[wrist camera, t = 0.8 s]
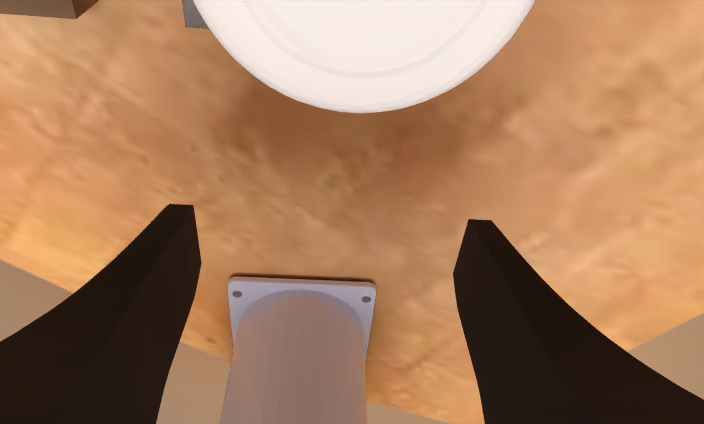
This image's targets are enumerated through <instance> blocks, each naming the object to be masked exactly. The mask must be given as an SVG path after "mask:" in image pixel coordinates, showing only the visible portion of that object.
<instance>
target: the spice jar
mask: <svg viewBox="0 0 704 424" xmlns="http://www.w3.org/2000/svg"><path fill="white" fill-rule="evenodd" d="M193 1H194V4H195V5H196V7H197V9H198V11H199V13H200V14H201V16H202V18H203V20H204V21H205V23H206V24H207V26H208V27H209V29H210V30H211V31H212V33H213V34H214V36H215V37H216V38H217V39H218V41H219V42H220V43H221V44H222V46H223V47H224V48H225V49H226V51H227V52H228V53H229V54H230V55H231V56H232V57H233V58H234V59H235V60H236V61H237V62H239V63H240V64H241V65H242V66H243V67H244V68H245V69H246V70H248V71H249V72H250V73H251V74H252V75H254V76H255V77H256V78H257V79H259V80H260V81H262V82H263V83H265V84H266V85H267V86H269V87H270V88H273V89H275V90H277V91H278V92H280V93H282V94H283V95H286V96H288V97H290V98H293V99H294V100H297V101H300V102H303V103H306V104H309V105H312V106H315V107H318V108H323V109H328V110H333V111H338V112H348V113H375V112H384V111H392V110H397V109H402V108H406V107H409V106H412V105H416V104H419V103H421V102H424V101H427V100H429V99H432V98H434V97H436V96H438V95H440V94H443V93H445V92H447V91H448V90H450V89H452V88H454V87H456V86H457V85H459V84H461V83H462V82H463V81H465V80H466V79H468V78H469V77H470V76H472V75H473V74H475V73H476V72H477V71H478V70H479V69H481V68H482V67H483V66H484V65H485V64H486V63H487V62H489V61H490V60H491V59H492V58H493V57H494V56H495V55H496V54H497V53H498V52H499V51H500V50H501V49H502V48H503V46H504V45H505V44H506V43H507V42H508V41H509V40H510V39H511V38H512V36H513V35H514V33H515V32H516V30H517V28H518V27H519V26H520V24H521V23H522V21H523V20H524V18H525V17H526V15H527V14H528V12H529V11H530V9H531V8H532V6H533V4H534V2H535V0H193Z"/></svg>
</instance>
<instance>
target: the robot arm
mask: <svg viewBox="0 0 704 424" xmlns="http://www.w3.org/2000/svg"><path fill="white" fill-rule="evenodd" d="M200 267H201V256H200V249H199V242H198V235H197V228H196V220H195V213H194V206H193V205H180V204H169V205H168V206H166V207H165V208H164V209H163V210H162V211H161V212H160V213H159V214H158V216H157V217H156V218H155V219H154V220H153V221H152V222H151V223H150V224H149V225H148V226H147V227H146V228H145V229H144V230H143V231H142V232H141V233H140V234H139V235H138V236H137V237H136V238H135V239H134V240H133V241H132V242H131V243H130V244H129V245H128V246H127V247H126V248H125V249H124V250H123V251H122V252H121V253H120V254H119V255H118V256H117V257H116V258H115V259H114V260H113V261H111V262H110V263H109V264H108V265H107V266H106V267H105V268H103V269H102V270H101V271H100V272H99V273H98V274H97V275H95V276H94V277H93V278H92V279H91V280H90V281H89V282H87V283H86V284H85V285H84V286H82V287H81V288H80V289H79V290H77V291H76V292H75V293H74V294H72V295H71V296H70V297H68V298H67V299H66V300H64V301H63V302H62V303H60V304H59V305H57V306H56V307H55V308H53V309H52V310H50V311H49V312H48V313H46V314H44V315H43V316H41V317H39V318H38V319H36V320H35V321H33V322H32V323H30V324H29V325H27V326H25V327H24V328H22V329H21V330H19V331H18V332H16V333H14V334H13V335H11V336H9V337H8V338H6V339H4V340H2V341H1V342H0V424H156V421H157V417H158V412H159V408H160V403H161V399H162V395H163V391H164V387H165V383H166V380H167V377H168V373H169V370H170V367H171V364H172V361H173V358H174V355H175V353H176V350H177V347H178V344H179V341H180V338H181V335H182V332H183V330H184V327H185V324H186V321H187V318H188V315H189V312H190V309H191V306H192V303H193V300H194V297H195V292H196V288H197V283H198V278H199V273H200ZM453 278H454V286H455V294H456V301H457V308H458V312H459V316H460V320H461V323H462V327H463V331H464V335H465V338H466V342H467V346H468V349H469V353H470V357H471V361H472V364H473V368H474V372H475V375H476V379H477V383H478V388H479V392H480V397H481V403H482V409H483V415H484V421H485V424H704V400H703V399H701V398H700V397H698V396H696V395H694V394H692V393H690V392H688V391H687V390H685V389H683V388H681V387H680V386H678V385H676V384H675V383H673V382H672V381H670V380H668V379H667V378H665V377H664V376H662V375H661V374H659V373H657V372H656V371H654V370H653V369H651V368H649V367H648V366H646V365H645V364H644V363H642V362H641V361H639V360H638V359H636V358H635V357H633V356H632V355H630V354H629V353H628V352H626V351H625V350H624V349H622V348H621V347H619V346H618V345H617V344H615V343H614V342H613V341H611V340H610V339H609V338H607V337H606V336H605V335H604V334H602V333H601V332H600V331H598V330H597V329H596V328H595V327H594V326H592V325H591V324H590V323H589V322H588V321H587V320H585V319H584V318H583V317H582V316H581V315H579V314H578V313H577V312H576V311H575V310H574V309H573V308H572V307H570V306H569V305H568V304H567V303H566V302H565V301H564V300H563V299H562V298H561V297H560V296H559V295H558V294H557V293H556V292H555V291H554V290H553V289H552V288H551V287H550V286H549V285H548V284H547V283H546V282H545V281H544V280H543V279H542V278H541V277H540V276H539V275H538V274H537V273H536V271H535V270H534V269H533V268H532V267H531V266H530V265H529V264H528V263H527V261H526V260H525V259H524V258H523V257H522V256H521V255H520V254H519V252H518V251H517V250H516V249H515V248H514V247H513V245H512V244H511V243H510V242H509V241H508V239H507V238H506V237H505V236H504V235H503V234H502V232H501V231H500V230H499V229H498V228H497V226H496V225H495V224H494V223H493V222H492V221H491V220H474V219H469V220H468V223H467V227H466V230H465V234H464V237H463V241H462V244H461V248H460V251H459V255H458V258H457V262H456V265H455V269H454V272H453ZM227 288H228V298H229V308H230V319H231V329H232V339H233V349H234V351H233V356H232V361H231V366H230V372H229V377H228V382H227V387H226V393H225V398H224V403H223V408H222V413H221V419H220V424H367V406H366V384H365V361H366V355H367V348H368V342H369V336H370V330H371V323H372V317H373V311H374V305H375V299H376V286H375V285H374V284H373V283H370V282H353V281H329V280H306V279H282V278H258V277H232V278H230V280H229V282H228V286H227ZM236 291H240V292H236ZM364 296H368V297H364Z"/></svg>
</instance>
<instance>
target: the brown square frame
mask: <svg viewBox="0 0 704 424" xmlns="http://www.w3.org/2000/svg"><path fill="white" fill-rule="evenodd" d="M97 1H98V0H0V14H14V15H28V16H41V17H55V18H69V19H77V18H78V17H79V16H81V15H82V14H83V13H84V12H85V11H87V10H88V9H89V8H90V7H91V6H93V5H94V4H95V3H96V2H97Z"/></svg>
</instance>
